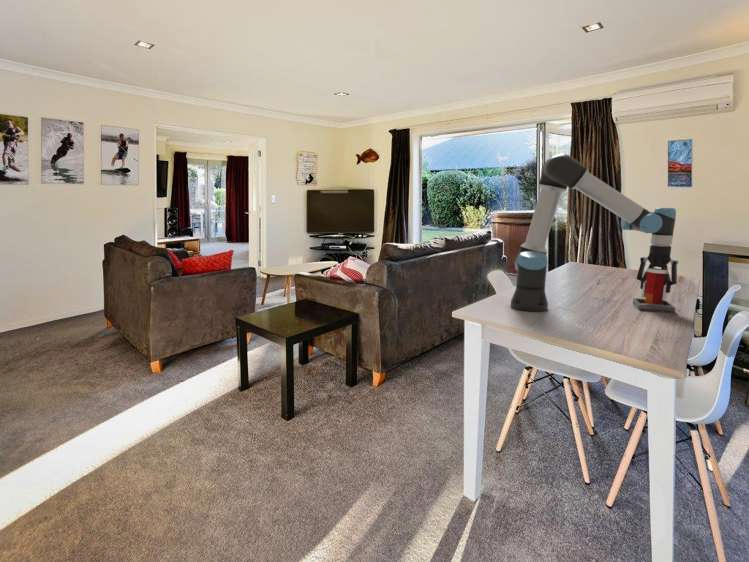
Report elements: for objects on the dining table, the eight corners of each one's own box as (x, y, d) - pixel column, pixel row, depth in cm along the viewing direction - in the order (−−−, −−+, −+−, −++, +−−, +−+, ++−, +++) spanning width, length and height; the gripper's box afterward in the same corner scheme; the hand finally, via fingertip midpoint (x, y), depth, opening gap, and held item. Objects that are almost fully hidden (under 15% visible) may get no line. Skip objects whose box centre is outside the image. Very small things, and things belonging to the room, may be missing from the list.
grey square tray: (638, 310, 186) (639, 304, 186) (632, 303, 198) (633, 298, 198) (674, 312, 182) (675, 307, 182) (666, 305, 194) (667, 300, 194)
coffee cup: (666, 302, 190) (671, 268, 187) (662, 306, 184) (667, 270, 181) (643, 299, 196) (648, 266, 193) (639, 303, 190) (644, 268, 187)
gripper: (692, 246, 180) (684, 301, 184) (638, 242, 195) (632, 293, 199) (686, 248, 175) (677, 304, 179) (631, 243, 190) (625, 295, 195)
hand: (653, 298), depth 189 cm, fingers closed on coffee cup, 7 cm apart
